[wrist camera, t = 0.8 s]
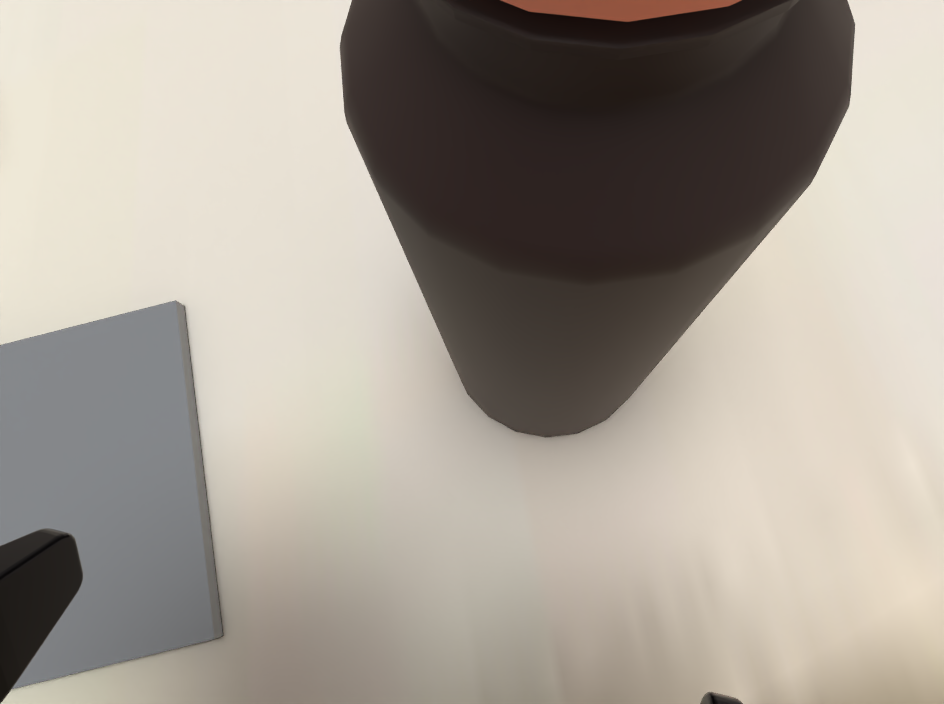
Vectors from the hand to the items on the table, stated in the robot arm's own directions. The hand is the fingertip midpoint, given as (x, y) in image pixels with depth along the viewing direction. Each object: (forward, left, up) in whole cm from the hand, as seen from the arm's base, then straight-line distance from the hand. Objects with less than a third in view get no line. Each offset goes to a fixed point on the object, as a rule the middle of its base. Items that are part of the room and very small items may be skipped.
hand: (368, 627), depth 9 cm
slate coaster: (+6, +14, -13) cm, 20 cm away
